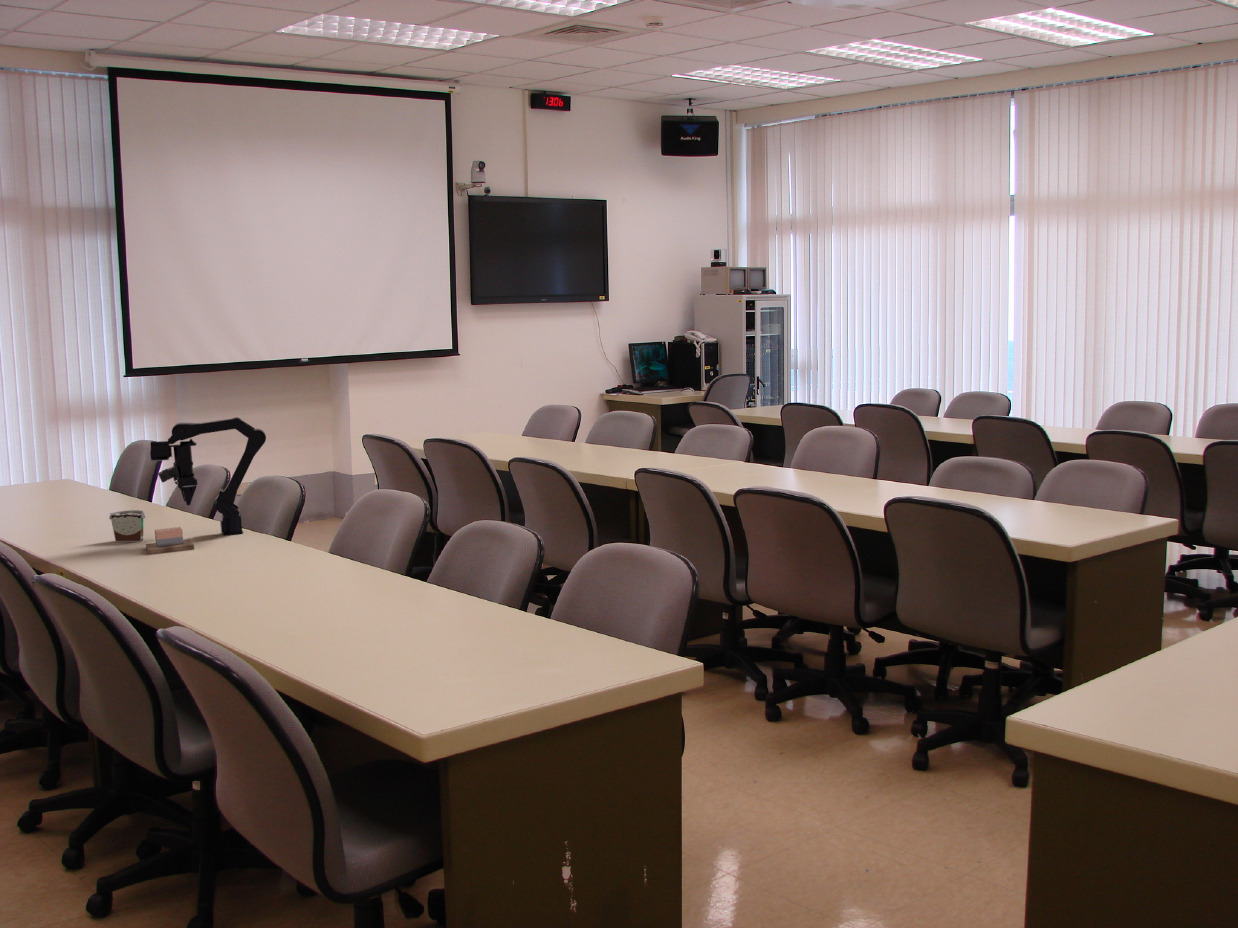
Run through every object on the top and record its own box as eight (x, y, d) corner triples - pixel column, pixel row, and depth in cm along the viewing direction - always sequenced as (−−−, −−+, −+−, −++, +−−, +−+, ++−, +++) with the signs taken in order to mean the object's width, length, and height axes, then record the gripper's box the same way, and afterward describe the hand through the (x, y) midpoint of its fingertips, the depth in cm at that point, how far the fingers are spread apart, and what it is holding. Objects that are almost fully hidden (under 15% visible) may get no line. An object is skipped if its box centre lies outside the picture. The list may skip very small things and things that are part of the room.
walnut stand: (190, 543, 372) (190, 538, 372) (194, 549, 362) (193, 544, 362) (146, 548, 365) (145, 543, 365) (148, 554, 356) (148, 549, 356)
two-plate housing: (155, 544, 364) (154, 529, 363) (181, 541, 368) (180, 526, 367) (157, 547, 359) (156, 532, 359) (183, 544, 363) (182, 529, 363)
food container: (154, 537, 383) (151, 509, 382) (145, 541, 377) (142, 513, 376) (121, 538, 385) (118, 510, 383) (111, 541, 379) (108, 513, 377)
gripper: (156, 458, 384) (160, 501, 386) (160, 464, 367) (164, 509, 369) (189, 455, 389) (193, 498, 391) (195, 461, 372) (199, 506, 374)
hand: (187, 503), depth 381 cm, fingers open, 9 cm apart
